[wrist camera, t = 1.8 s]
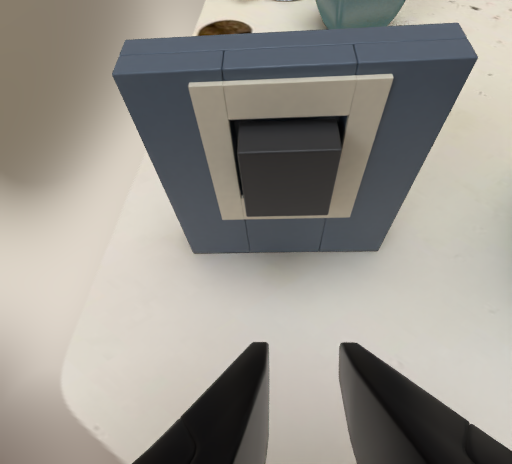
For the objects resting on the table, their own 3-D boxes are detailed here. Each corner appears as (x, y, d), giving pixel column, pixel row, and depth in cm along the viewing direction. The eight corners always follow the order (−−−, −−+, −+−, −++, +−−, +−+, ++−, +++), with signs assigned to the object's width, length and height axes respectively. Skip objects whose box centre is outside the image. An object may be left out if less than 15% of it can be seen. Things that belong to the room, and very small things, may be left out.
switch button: (328, 216, 18) (342, 150, 14) (246, 217, 18) (236, 153, 14) (324, 186, 19) (337, 117, 15) (247, 188, 19) (238, 121, 15)
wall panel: (378, 254, 25) (481, 61, 12) (192, 257, 26) (108, 78, 13) (372, 223, 26) (458, 21, 14) (196, 226, 27) (124, 39, 15)
